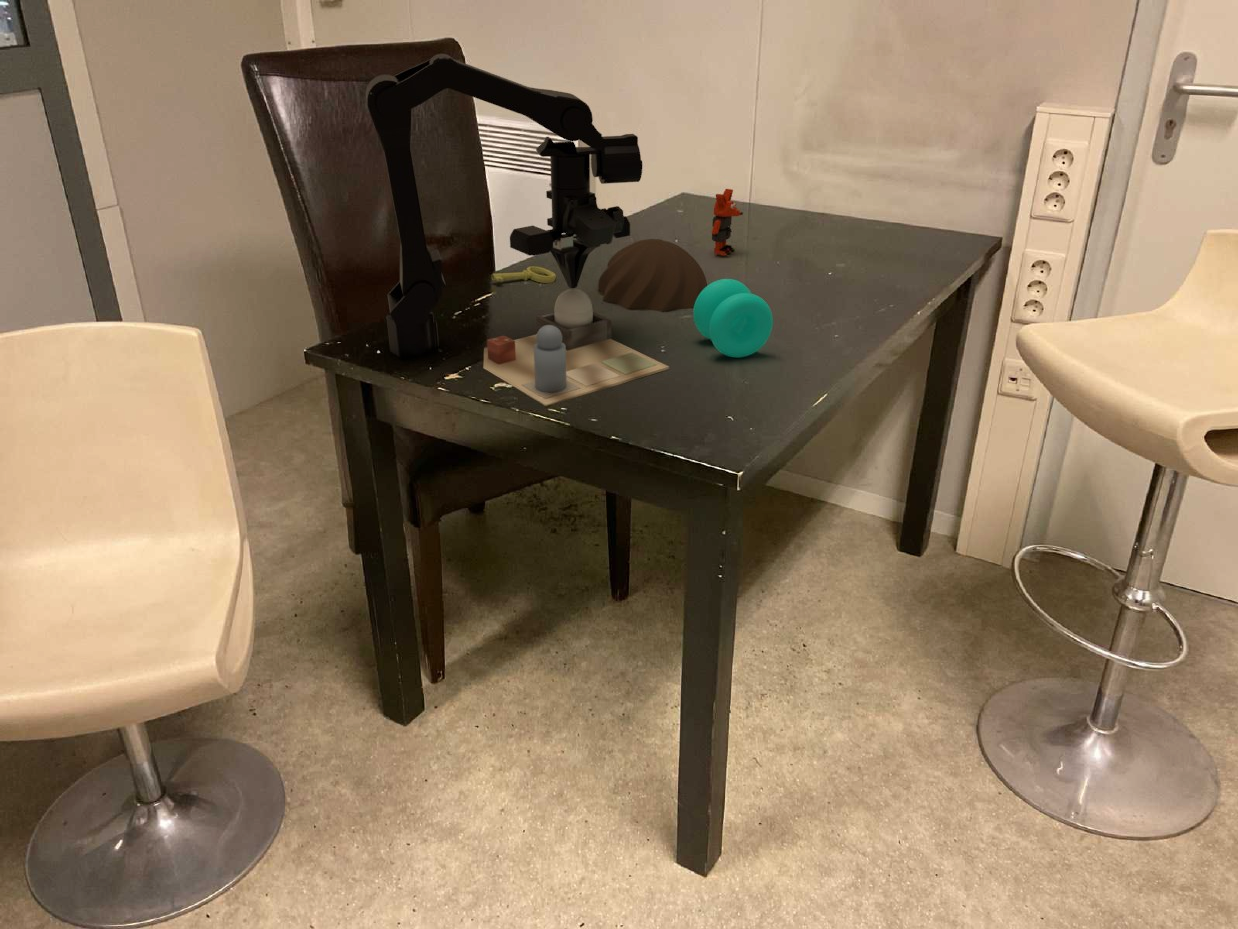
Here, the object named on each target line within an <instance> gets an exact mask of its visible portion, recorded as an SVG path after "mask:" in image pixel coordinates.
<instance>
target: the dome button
mask: <svg viewBox="0 0 1238 929" xmlns="http://www.w3.org/2000/svg"><path fill="white" fill-rule="evenodd" d="M593 308H594V307H593V306H592V300H591V299H590V297H589V295H588V294H587V293H586V292H585V291H583V290H580V289H579V288H578V289H577V288H573V289H572V288H570V289H566V290H564V291H562V292H561V293H560V294H559V295H558V297H557V298H556V301H555V303H554V307H553V310H554V312H553V313H554V316H555V323H556V324H558V325H560V326H562V327H564V328H567V329H572V328H576V327H580V326H583V325H587V324H591V323H593V312H594V310H593Z"/></svg>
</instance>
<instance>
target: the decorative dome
mask: <svg viewBox="0 0 1238 929" xmlns="http://www.w3.org/2000/svg"><path fill="white" fill-rule="evenodd" d="M606 267H607V268H605V270H604V271H603V272H602V274H601V275H600V277H599V280H598V282H597V283H598V284H597V285H598V286H597V287H598V288H597V289H598V292H600V293H601V294H603V297H602V302H606V303H611V304H616V305H618V306H620V307H622V308H623V309H626V310H648V311H649V310H650V311H657V312H661V313H666V312H670V311H673V310H679V309H680V310H681V309H692V308H693V309H694V304H695V301H696V299H697V297H698V296H699V294H700V293H701V291H702V290H703V289H704V288H705V287H707V286H708V282H707V279H706V278H707V277H706V275H705V273H704V270H703V269H702V267H701V265H700V264H699V262H697V260H696V259H695V258H694V257H693V256H692V255H691V254H690V253H689V252H688V251H686V250H685V249H684V248H683V247H681V246H680V245H677V244H676V243H673V242H671V241H667V240H663V239H660V238H647V239H641V240H637V241H635V242H633V243H631V244H629V245H627V246H624V247H623V248H621V249H619V250H618V251H617V252H616V253H614V254H613V255H612V257H611V258H610V259H609V260H608V263H607V266H606Z"/></svg>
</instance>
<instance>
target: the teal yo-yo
mask: <svg viewBox="0 0 1238 929" xmlns="http://www.w3.org/2000/svg"><path fill="white" fill-rule="evenodd" d="M692 317H693V322H694V326H695V327H696V329H697V330H698V331H699V333H700V334H701V335H702V336H703V337H705V338H706V339H708V340H710V341H711V342H712V343H711V344H713V346H714V347H715V348H716V350H718V352H720V353H721V354H722V355H724V356H726V357H729V358H730V357H731V358H745V357H748V356H751V355H753V354H755V353H756V352H758V351H759V350H760V349H762V348H763V347H764V345H765V344H766V343H767V342H768V340H769V339H770V336H771V334H772V331H773V327H774V326H773V324H774V319H773V313H772V309H771V308H770V306H769V305H768V303H767V302H766V301H765V300H764V299H763V298H762V297H760V296H758V295H757V294H754V293H752V292H751V290H750V289H749V287H747V286H746V285H745V284H744V283H743V282H741V281H739V280H737V279H731V278H722V279H718V280H715V281H713V282H711V283H709V284H707V287H705V288H704V289H703V290H702V291H701V293H700V294H699V296H698V297H697V299H696V301H695V304H694V307H693V311H692Z"/></svg>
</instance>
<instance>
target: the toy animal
mask: <svg viewBox="0 0 1238 929" xmlns="http://www.w3.org/2000/svg"><path fill="white" fill-rule="evenodd" d="M733 192H734V190H733V188H731V189H730V188H725V189H724V191H723V194H721V193H716V194H715V200H716V201H715V203H714V206H713V215H714V217H713V218H712V230H711V240H712V241H713V242H715V243H714V246H715V247H714V248H713V254H716V255H719V256H730V255H731V253H735V249H734V247H732V245H731V244H730V245H729V244H727V240H729V239H730V238H731V236H732V228H731V225H732V218H733V217H739V216H742V215H743V214H744V212H742V211H741V212H740V210H739V209H738V208H737V207H736V206H737V204H736V203H735V202H734V201H733V200H731V199H732V197H733Z"/></svg>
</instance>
